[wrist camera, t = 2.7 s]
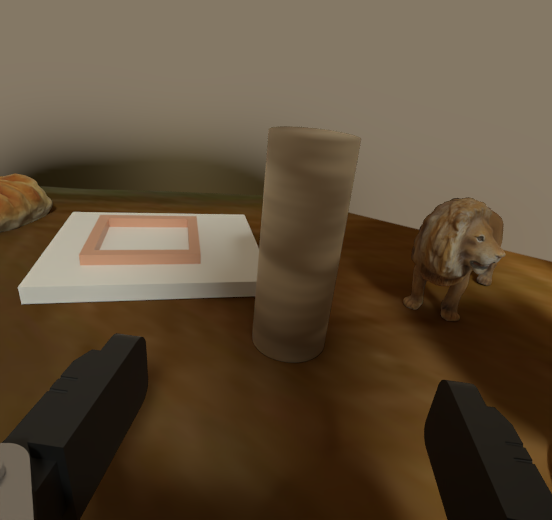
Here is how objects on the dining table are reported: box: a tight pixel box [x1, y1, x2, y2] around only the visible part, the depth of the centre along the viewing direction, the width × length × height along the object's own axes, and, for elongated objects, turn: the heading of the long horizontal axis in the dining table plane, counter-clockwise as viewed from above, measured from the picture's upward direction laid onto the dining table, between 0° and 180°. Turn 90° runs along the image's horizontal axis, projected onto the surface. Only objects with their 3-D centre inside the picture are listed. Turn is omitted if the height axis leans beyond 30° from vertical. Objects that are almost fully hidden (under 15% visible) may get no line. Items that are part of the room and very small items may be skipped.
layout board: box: [18, 212, 259, 304], centre depth 32 cm, size 16×14×2 cm
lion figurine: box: [403, 198, 505, 321], centre depth 29 cm, size 15×5×9 cm, turn 146°
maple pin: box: [252, 127, 361, 363], centre depth 21 cm, size 4×4×12 cm
